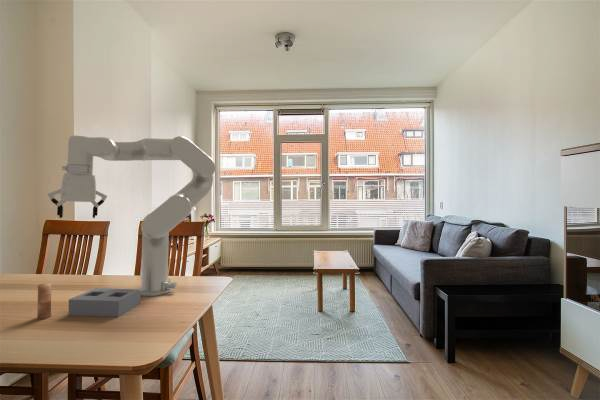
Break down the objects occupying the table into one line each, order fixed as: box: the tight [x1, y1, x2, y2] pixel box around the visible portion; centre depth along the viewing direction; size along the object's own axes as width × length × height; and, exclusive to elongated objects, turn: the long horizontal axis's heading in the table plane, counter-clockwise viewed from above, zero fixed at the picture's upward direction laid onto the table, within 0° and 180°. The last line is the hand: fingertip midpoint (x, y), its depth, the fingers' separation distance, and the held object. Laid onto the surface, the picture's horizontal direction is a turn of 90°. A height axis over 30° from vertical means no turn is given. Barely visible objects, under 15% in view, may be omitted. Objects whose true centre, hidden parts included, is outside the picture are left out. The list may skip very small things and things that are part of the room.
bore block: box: [67, 287, 141, 318], centre depth 101 cm, size 16×12×5 cm
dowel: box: [36, 282, 52, 320], centre depth 93 cm, size 3×3×10 cm
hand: (77, 217), depth 110 cm, fingers open, 9 cm apart
